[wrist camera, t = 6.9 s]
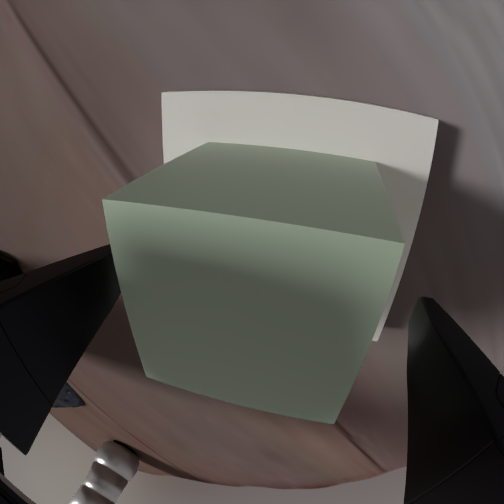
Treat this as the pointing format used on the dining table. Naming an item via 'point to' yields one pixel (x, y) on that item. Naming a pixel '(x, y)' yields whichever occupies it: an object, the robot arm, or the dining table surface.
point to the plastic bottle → (107, 475)
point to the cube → (256, 273)
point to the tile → (314, 140)
